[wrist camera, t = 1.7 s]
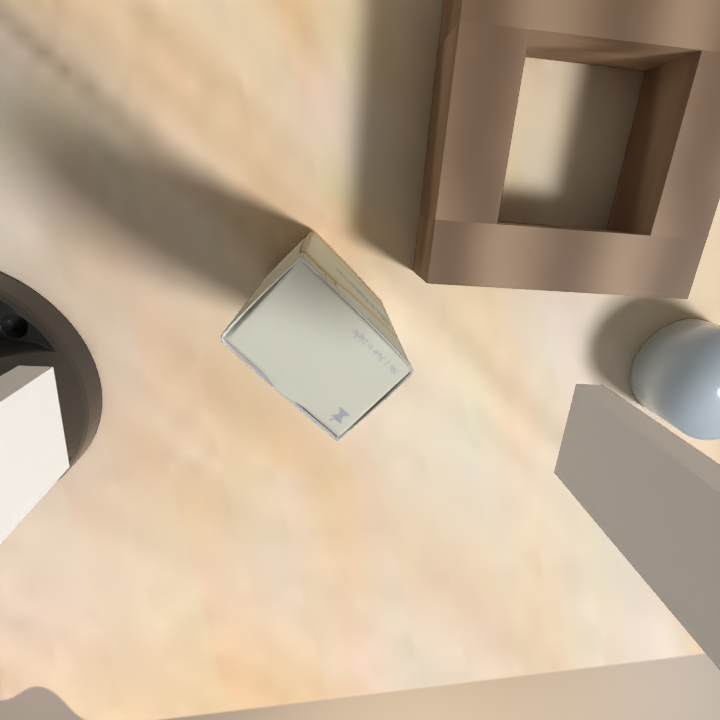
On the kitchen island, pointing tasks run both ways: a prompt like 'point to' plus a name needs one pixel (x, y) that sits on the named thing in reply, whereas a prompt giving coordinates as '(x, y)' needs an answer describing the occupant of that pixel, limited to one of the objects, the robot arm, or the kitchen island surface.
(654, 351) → the light blue rounded block
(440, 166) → the socket block
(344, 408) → the skincare box
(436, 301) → the kitchen island surface
